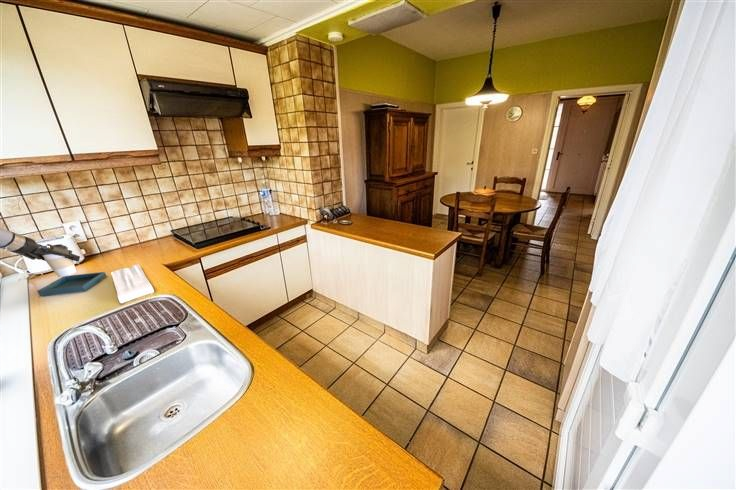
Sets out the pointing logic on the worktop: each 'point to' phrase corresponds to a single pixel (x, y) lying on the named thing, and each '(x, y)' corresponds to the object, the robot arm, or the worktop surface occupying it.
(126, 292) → the hand towel
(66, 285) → the tray
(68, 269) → the coffee cup
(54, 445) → the worktop surface
